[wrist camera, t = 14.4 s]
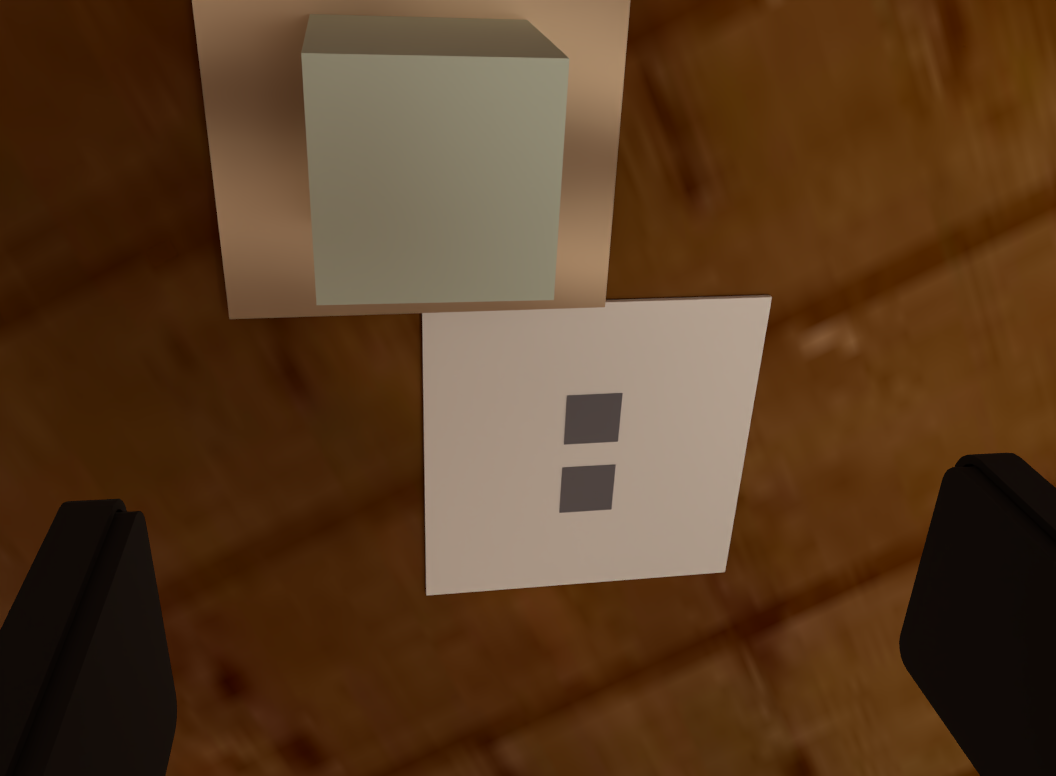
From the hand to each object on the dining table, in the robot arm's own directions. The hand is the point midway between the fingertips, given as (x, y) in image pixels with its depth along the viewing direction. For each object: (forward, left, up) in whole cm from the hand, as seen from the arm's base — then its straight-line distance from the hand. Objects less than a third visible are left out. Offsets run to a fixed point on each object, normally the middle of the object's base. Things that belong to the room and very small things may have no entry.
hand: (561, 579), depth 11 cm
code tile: (-12, -6, -21) cm, 24 cm away
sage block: (0, 0, -20) cm, 20 cm away
